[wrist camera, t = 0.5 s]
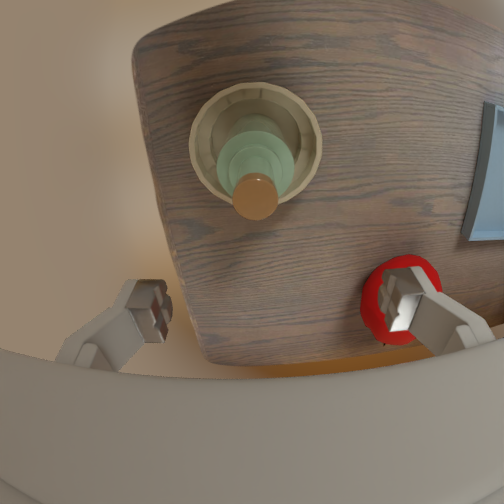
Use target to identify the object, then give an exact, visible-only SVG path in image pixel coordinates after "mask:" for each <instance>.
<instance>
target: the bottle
mask: <svg viewBox="0 0 504 504" xmlns="http://www.w3.org/2000/svg"><path fill="white" fill-rule="evenodd" d="M216 168H217V176H218V179H219V181H220V183H221V185H222V187H223V188H224V189H225V191H226V192H227V193H228V194H230V195H231V196H232V202H233V206H234V208H235V210H236V211H237V213H238V214H240V215H241V216H242V217H244V218H246V219H249V220H262V219H265V218H267V217H269V216H270V215H271V214H272V213H273V212H274V211H275V210H276V208H277V205H278V200H279V198H278V197H279V196H280V195H282V194H283V193H284V192H285V191H286V190H287V188H288V187H289V185H290V184H291V182H292V179H293V176H294V169H295V166H294V159H293V156H292V153H291V151H290V149H289V146H288V144H287V142H286V140H285V138H284V135H283V133H282V131H281V129H280V127H279V125H278V124H277V123H276V122H275V121H274V120H273V119H272V118H270V117H269V116H267V115H264V114H259V113H252V114H247V115H245V116H242V117H241V118H239V119H238V120H237V121H236V122H235V123H234V124H233V125H232V127H231V129H230V131H229V133H228V136H227V138H226V140H225V142H224V144H223V146H222V149H221V151H220V153H219V156H218V159H217V166H216Z"/></svg>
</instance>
